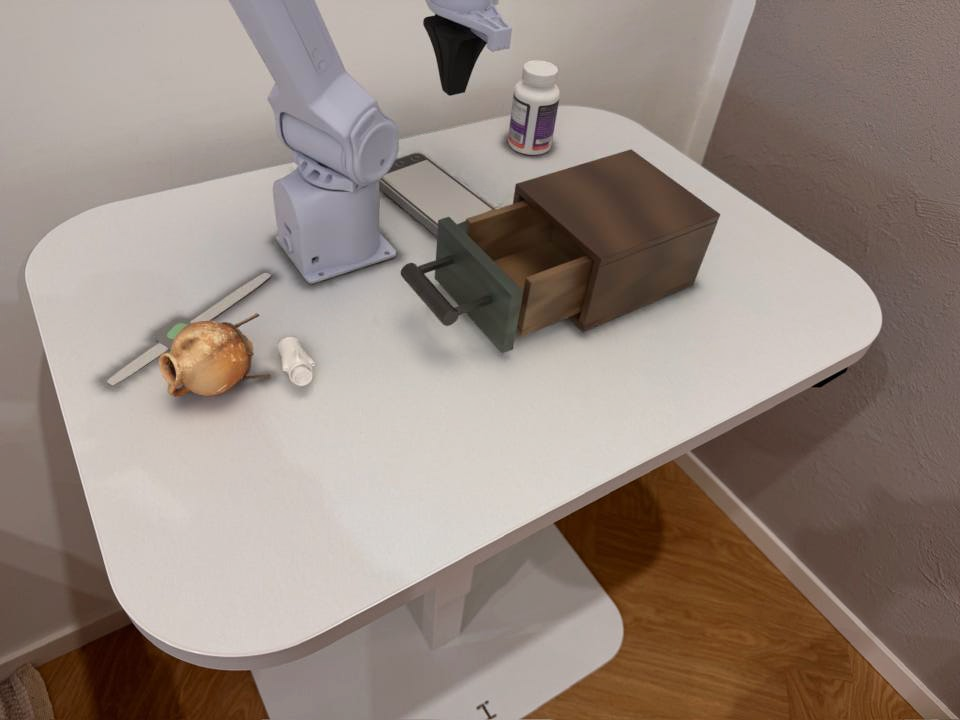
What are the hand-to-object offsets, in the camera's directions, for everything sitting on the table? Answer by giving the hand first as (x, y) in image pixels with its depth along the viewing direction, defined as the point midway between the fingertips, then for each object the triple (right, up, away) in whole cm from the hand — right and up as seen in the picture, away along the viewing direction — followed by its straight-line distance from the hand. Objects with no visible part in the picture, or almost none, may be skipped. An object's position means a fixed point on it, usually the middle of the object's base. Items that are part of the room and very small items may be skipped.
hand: (453, 91), depth 77 cm
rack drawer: (+5, -22, -8) cm, 24 cm away
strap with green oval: (-24, -24, -12) cm, 35 cm away
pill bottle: (+9, -1, +14) cm, 17 cm away
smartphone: (-2, -11, +4) cm, 12 cm away
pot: (-21, -28, -16) cm, 38 cm away
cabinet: (+15, -19, -2) cm, 24 cm away
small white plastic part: (-13, -29, -15) cm, 35 cm away
